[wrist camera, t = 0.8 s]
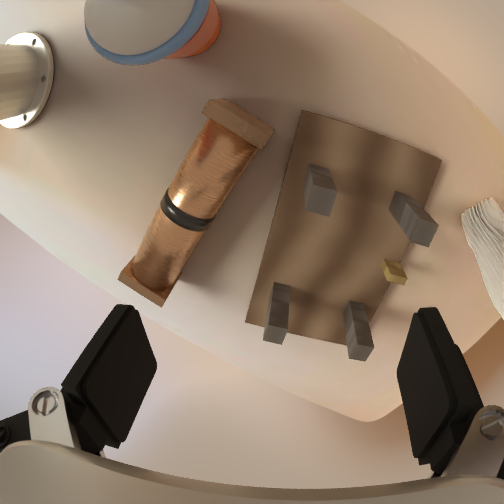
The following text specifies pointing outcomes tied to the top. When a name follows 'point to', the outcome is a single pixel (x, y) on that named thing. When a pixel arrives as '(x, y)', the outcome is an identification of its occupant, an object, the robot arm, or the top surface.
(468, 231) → the shell sculpture
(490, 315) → the top surface
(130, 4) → the cup with straw
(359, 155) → the collar board
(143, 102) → the top surface
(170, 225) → the copper tube
